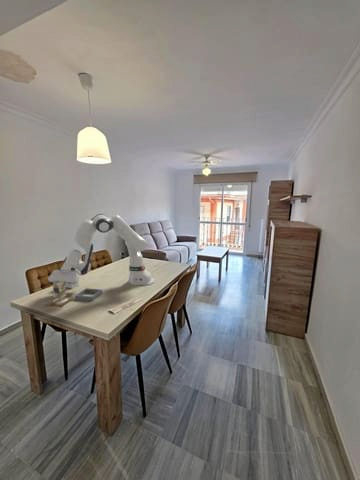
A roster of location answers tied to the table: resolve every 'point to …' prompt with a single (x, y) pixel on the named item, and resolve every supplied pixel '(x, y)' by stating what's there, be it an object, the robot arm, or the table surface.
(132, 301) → the newspaper
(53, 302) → the walnut board
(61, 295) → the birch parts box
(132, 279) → the robot arm
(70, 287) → the supplement box
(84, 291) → the charcoal bin
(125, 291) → the table surface
